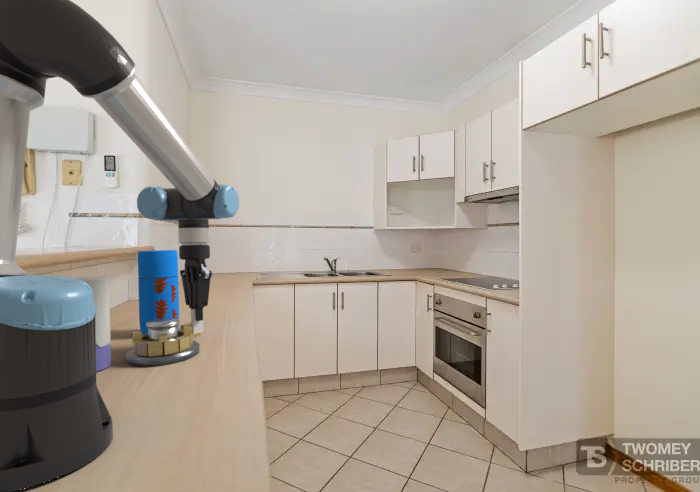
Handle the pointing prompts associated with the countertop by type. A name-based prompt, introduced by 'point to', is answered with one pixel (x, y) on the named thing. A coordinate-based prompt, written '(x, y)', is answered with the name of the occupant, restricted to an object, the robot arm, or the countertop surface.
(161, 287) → the thermos
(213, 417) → the countertop surface
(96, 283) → the container
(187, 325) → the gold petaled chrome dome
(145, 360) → the base
